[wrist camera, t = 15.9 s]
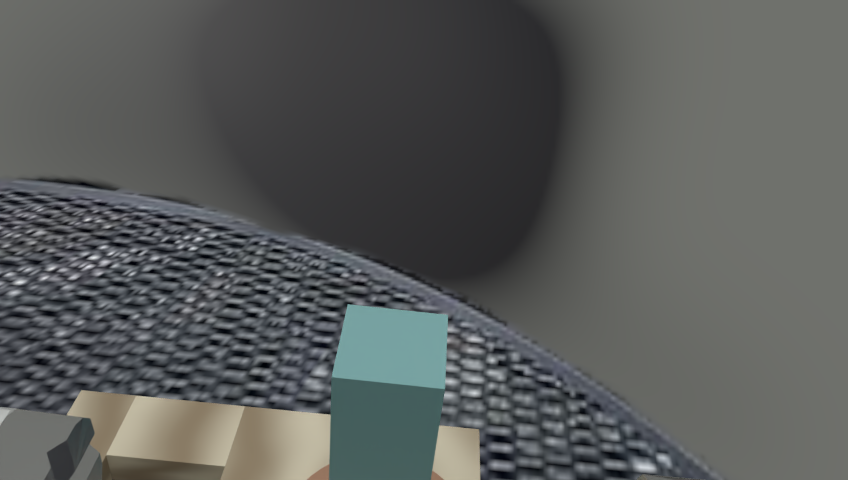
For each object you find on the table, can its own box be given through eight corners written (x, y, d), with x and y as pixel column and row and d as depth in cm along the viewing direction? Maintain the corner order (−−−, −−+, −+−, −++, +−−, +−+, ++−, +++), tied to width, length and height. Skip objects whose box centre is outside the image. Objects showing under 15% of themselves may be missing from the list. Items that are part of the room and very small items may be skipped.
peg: (326, 567, 32) (331, 377, 25) (339, 491, 35) (347, 304, 28) (415, 577, 32) (444, 389, 25) (420, 499, 35) (447, 314, 28)
